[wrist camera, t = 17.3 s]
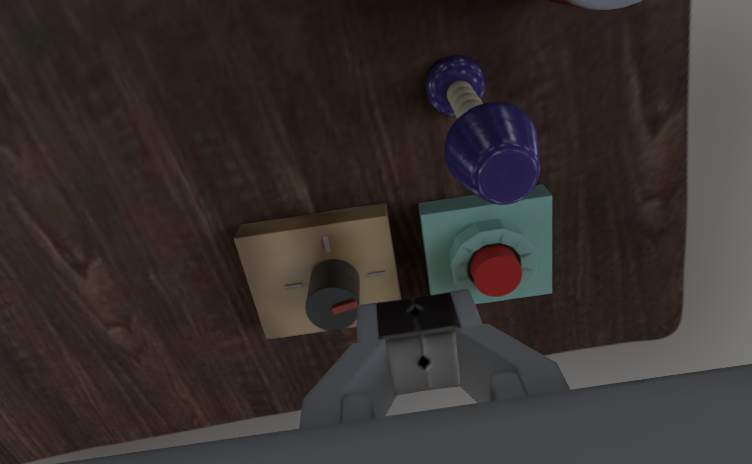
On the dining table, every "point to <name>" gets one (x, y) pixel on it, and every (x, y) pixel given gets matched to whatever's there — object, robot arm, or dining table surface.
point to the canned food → (597, 3)
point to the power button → (495, 270)
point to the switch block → (487, 241)
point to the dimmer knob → (333, 295)
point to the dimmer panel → (314, 262)
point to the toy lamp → (484, 135)
